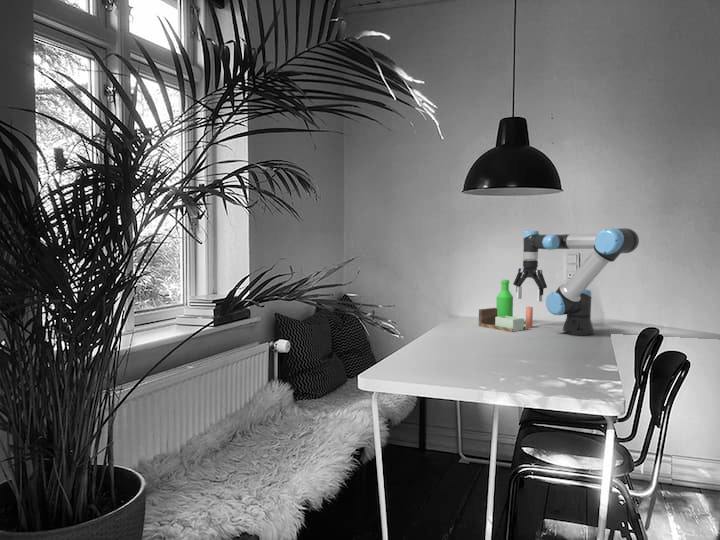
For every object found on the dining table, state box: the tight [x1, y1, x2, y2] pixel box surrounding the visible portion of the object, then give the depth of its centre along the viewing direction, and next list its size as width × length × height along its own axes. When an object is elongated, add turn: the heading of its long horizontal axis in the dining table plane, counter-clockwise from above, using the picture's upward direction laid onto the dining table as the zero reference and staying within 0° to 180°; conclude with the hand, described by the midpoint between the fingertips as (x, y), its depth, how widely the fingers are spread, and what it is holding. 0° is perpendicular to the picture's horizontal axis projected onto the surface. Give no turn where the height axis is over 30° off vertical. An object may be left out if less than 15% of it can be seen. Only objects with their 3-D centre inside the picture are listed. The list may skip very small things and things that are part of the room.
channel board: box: [478, 307, 529, 333], centre depth 334 cm, size 23×12×10 cm, turn 35°
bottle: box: [495, 279, 514, 317], centre depth 353 cm, size 9×9×25 cm
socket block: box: [495, 316, 525, 332], centre depth 331 cm, size 12×8×6 cm, turn 35°
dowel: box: [525, 306, 534, 329], centre depth 336 cm, size 3×3×12 cm
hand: (529, 300), depth 336 cm, fingers open, 13 cm apart
